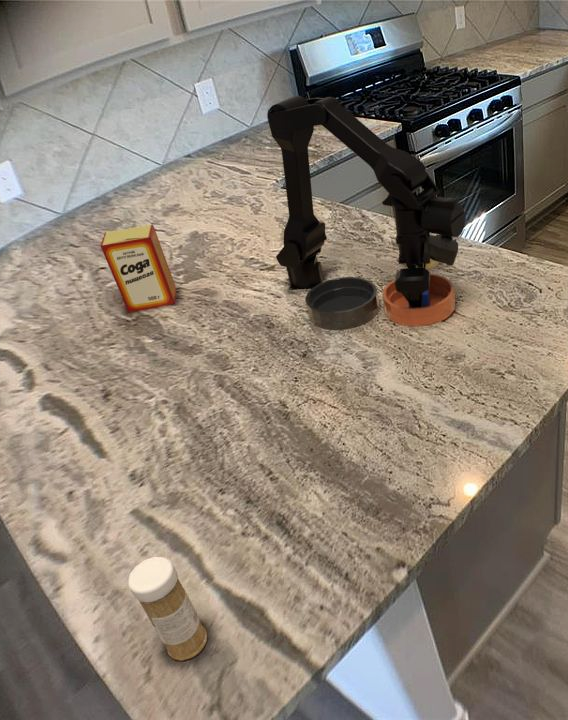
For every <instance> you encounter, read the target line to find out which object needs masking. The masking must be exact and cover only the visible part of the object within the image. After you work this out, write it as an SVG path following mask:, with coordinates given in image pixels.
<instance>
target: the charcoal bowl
mask: <svg viewBox="0 0 568 720" xmlns="http://www.w3.org/2000/svg"><path fill="white" fill-rule="evenodd" d="M379 299H380V298H379V293H378V288H377V287H376V284H374V283H373V282H372V281H371V280H369V279H366V278H363V277H359V276H358V277H357V276H341V277H340V276H339V277H335V278H331V279H328V280H324V281H322V283H320V284H318V285H316V286H315V287H313V288H312V289H309V291H308V292H307V293H306V295H305V298H304V300H305V304H306V309H307V313H308V317H309V321H310V322H311V324H313V325H314V326H315V327H318V328H321V329H323V330H331V331H340V330H342V331H343V330H349V329H353V328H357V327H359V326H362V325H365V324H366V323H368V322H370V321H371V320H372V319H374V318H375V317H376V316H377V314H378V313H379V310H380V300H379Z"/></svg>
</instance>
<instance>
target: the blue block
mask: <svg viewBox="0 0 568 720" xmlns="http://www.w3.org/2000/svg"><path fill="white" fill-rule="evenodd" d="M408 304H409V303H408ZM426 306H430V294H429V290H427V291H424V292H423V295H422V305H421V307H426ZM409 308H412V307H411V305H410V304H409Z"/></svg>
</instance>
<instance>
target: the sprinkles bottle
mask: <svg viewBox="0 0 568 720" xmlns="http://www.w3.org/2000/svg"><path fill="white" fill-rule="evenodd" d="M127 586H128V588H129V590H130V592H131V594H132V596H133V597H134V598H135V599H136V600H137V601H138V602H139V604H140V606H141V607H142V609H143V610H144V613H145V614H146V616H147V617H148V619H149V621H150V622H151V626H152V627H153V629H154V631H155V632H156V634H157V636H158V638H159V639H160V640H161V642H162V643H163V645H164V647H165V648H166V650H167V651H166V652H167V654H168V655H169V657H170V658H171V659H173V660H176V661H181V662H183V661H187V660H189V659H193V658H195V657H196V656H197V655H199V654H200V652H202V650H203V649H204V648H205V646H206V644H207V642H208V631H207V630H206V628H205V627H204V625H202V622H201V620H200V617H199V615H198V613H197V610H196V608H195V607H194V605H193V603H192V601H191V599H190V597H189V595H188V593H187V591H186V589H185V588H184V587H183V584H182V583H181V581H180V579H179V575H178V571H177V569H176V567H175V566H174V564H173V562H172V561H171V559H169V558H168V557H164V556H154V557H150V558H146V559H145V560H143V561H141V562H140V563H138V564H137V565H136V566H135V567H134V568H133V569H132V571H131V572H130V574H129V575H128V579H127Z"/></svg>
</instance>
